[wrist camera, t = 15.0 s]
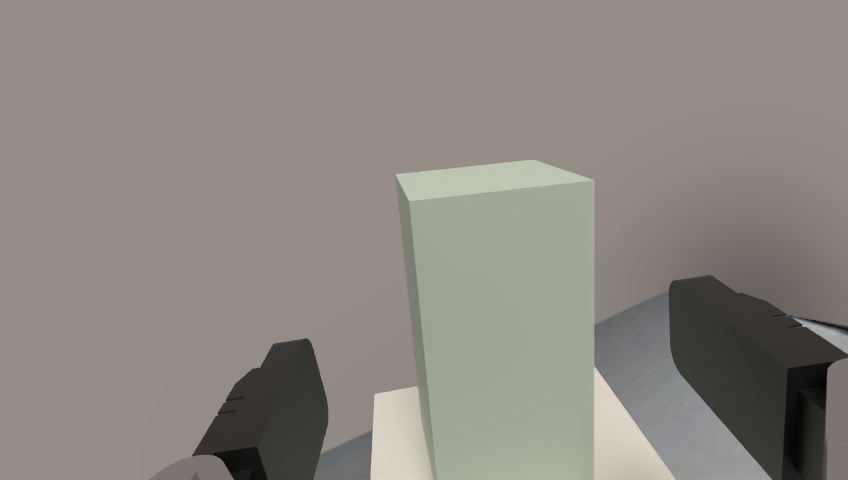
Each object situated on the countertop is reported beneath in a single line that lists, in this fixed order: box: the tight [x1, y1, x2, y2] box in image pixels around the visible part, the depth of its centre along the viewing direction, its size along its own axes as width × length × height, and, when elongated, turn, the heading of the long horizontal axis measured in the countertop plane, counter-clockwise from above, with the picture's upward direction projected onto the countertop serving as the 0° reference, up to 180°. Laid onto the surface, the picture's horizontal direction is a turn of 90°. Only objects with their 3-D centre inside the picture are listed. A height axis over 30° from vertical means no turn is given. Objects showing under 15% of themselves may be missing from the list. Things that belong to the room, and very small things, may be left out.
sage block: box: [396, 160, 594, 480], centre depth 17 cm, size 5×5×10 cm
